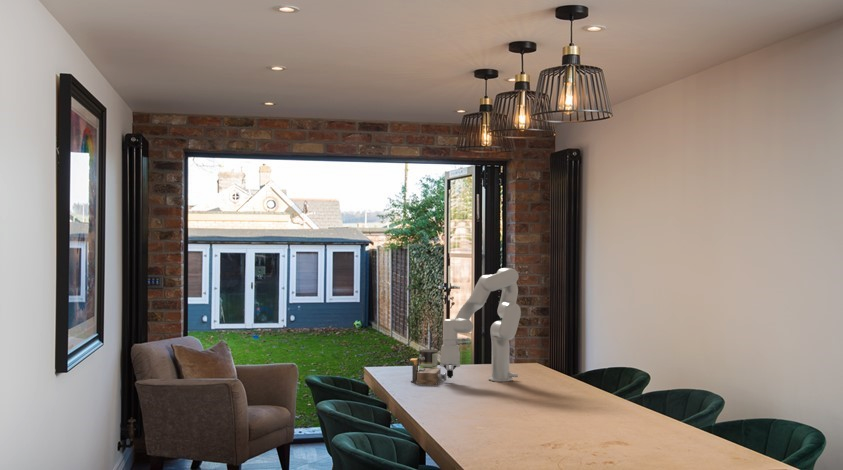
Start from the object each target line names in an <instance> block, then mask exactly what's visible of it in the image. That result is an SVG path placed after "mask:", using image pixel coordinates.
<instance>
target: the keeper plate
mask: <svg viewBox="0 0 843 470" xmlns="http://www.w3.org/2000/svg"><path fill="white" fill-rule="evenodd" d="M418 359H419V357H417V358H416V357H415V358H413V357H412V358H410V359H409V362H413V365H416V370H417V363H418Z"/></svg>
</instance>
